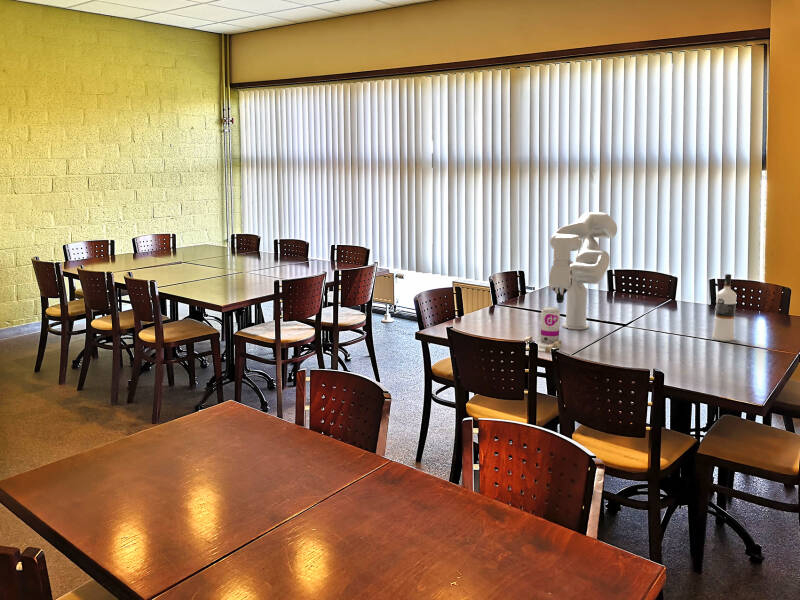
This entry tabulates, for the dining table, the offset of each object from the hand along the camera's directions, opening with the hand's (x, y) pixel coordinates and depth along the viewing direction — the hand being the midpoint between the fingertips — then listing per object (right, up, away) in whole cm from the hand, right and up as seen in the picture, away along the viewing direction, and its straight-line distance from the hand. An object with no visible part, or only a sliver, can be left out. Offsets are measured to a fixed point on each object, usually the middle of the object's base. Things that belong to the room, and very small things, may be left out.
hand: (559, 302), depth 338 cm
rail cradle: (-13, -19, -16) cm, 28 cm away
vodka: (+73, -17, -5) cm, 75 cm away
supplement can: (-6, -18, -5) cm, 19 cm away
